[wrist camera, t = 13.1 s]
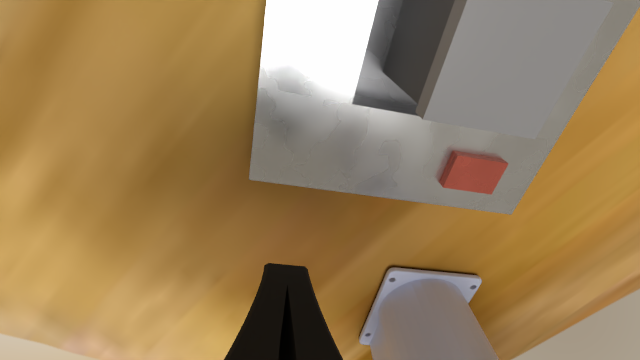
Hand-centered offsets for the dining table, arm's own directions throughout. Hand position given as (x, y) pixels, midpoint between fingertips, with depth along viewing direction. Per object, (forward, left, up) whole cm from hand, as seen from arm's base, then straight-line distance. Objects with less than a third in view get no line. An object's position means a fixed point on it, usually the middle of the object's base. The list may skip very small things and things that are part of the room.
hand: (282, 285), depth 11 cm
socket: (+7, -6, -10) cm, 13 cm away
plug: (+8, -6, -9) cm, 14 cm away
